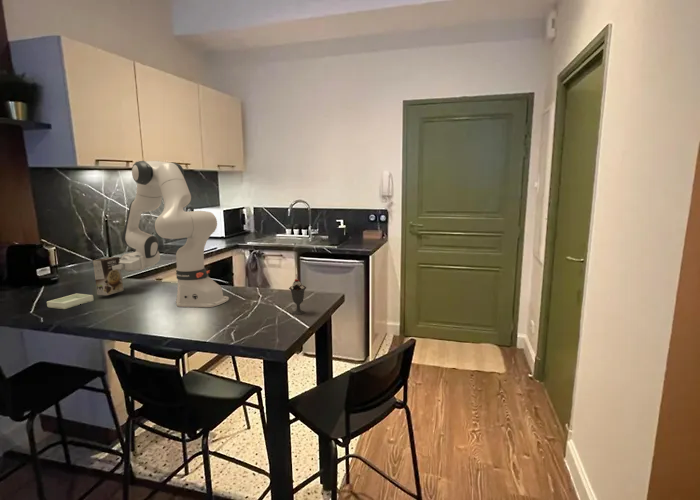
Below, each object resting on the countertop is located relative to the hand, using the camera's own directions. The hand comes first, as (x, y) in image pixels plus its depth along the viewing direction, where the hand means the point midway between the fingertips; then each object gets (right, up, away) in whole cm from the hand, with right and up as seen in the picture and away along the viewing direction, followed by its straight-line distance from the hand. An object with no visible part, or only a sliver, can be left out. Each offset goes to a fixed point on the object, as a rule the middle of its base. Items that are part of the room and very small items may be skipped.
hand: (105, 267), depth 188 cm
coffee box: (+1, -12, +3) cm, 12 cm away
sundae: (+91, -17, -26) cm, 97 cm away
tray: (-9, -15, -9) cm, 20 cm away
